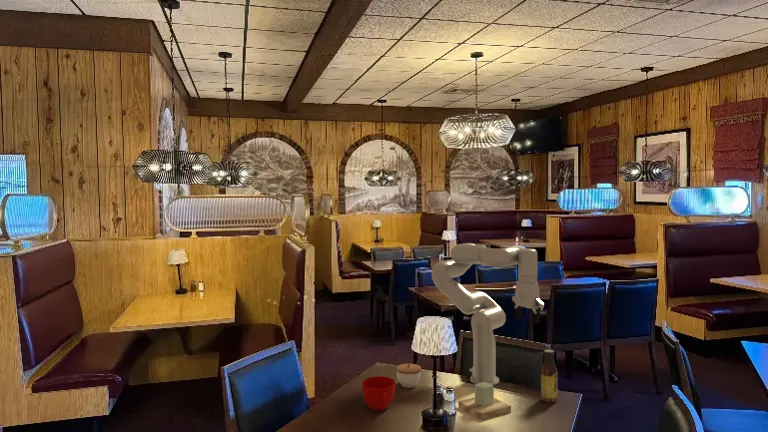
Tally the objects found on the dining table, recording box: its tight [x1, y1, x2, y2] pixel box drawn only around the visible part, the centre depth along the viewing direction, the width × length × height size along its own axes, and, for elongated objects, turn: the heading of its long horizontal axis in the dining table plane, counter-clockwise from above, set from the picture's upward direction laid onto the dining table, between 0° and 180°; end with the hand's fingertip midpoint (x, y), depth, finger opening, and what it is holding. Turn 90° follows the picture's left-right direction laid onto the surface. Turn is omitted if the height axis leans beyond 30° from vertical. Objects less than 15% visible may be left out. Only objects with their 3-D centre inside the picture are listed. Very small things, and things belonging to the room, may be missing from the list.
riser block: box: [458, 396, 512, 421], centre depth 210 cm, size 14×14×3 cm
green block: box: [474, 382, 495, 407], centre depth 211 cm, size 5×5×7 cm
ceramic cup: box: [361, 376, 396, 411], centre depth 212 cm, size 13×17×10 cm
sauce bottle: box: [540, 349, 558, 403], centre depth 218 cm, size 6×6×20 cm
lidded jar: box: [395, 363, 422, 389], centre depth 237 cm, size 11×11×9 cm
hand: (527, 320), depth 225 cm, fingers open, 9 cm apart
